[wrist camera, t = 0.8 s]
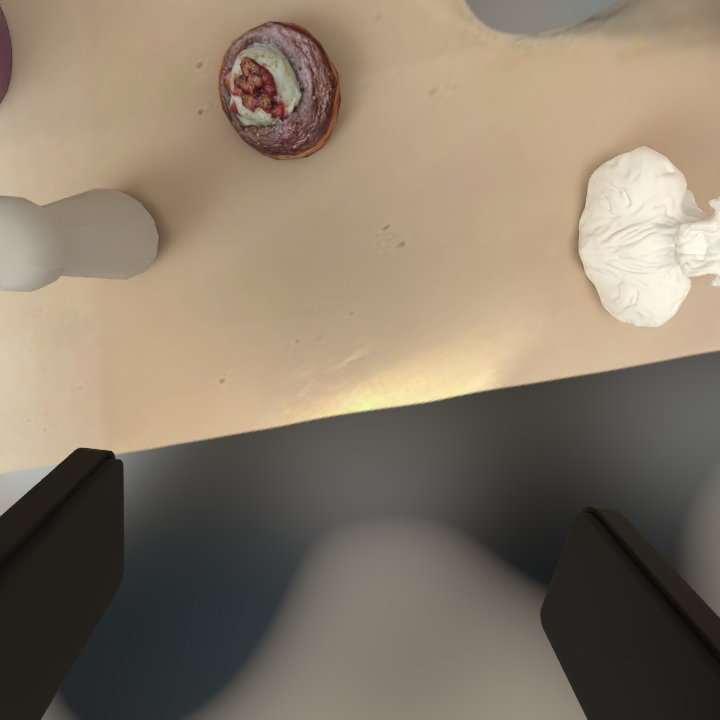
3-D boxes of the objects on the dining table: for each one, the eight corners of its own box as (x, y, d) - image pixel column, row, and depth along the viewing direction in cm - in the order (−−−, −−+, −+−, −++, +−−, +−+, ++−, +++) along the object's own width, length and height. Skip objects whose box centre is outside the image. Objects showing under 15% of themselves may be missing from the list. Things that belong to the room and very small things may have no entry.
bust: (610, 306, 37) (798, 303, 28) (567, 342, 33) (771, 352, 24) (594, 155, 33) (805, 98, 24) (543, 175, 29) (774, 113, 20)
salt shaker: (114, 286, 33) (-24, 331, 20) (69, 210, 31) (-112, 209, 18) (184, 255, 32) (87, 282, 20) (143, 177, 30) (7, 152, 18)
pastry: (197, 89, 29) (169, 65, 24) (278, -3, 27) (265, -48, 23) (285, 186, 31) (275, 182, 26) (365, 105, 29) (369, 84, 25)
